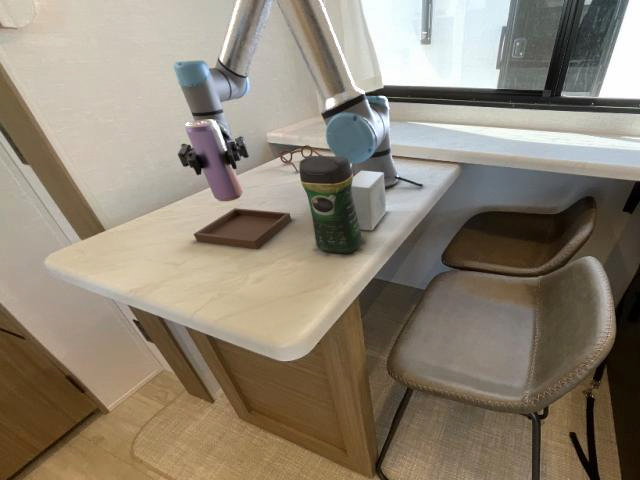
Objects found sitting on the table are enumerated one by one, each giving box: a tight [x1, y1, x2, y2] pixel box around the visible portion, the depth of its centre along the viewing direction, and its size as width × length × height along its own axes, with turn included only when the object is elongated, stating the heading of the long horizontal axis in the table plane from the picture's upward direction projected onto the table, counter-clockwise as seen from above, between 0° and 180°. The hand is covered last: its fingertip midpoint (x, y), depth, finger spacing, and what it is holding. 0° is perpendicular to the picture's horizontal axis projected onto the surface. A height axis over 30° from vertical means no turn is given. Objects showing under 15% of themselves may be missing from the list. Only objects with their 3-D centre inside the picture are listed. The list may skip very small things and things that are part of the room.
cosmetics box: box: [352, 171, 387, 231], centre depth 75 cm, size 10×6×10 cm, turn 163°
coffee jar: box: [298, 155, 363, 254], centre depth 63 cm, size 10×8×19 cm
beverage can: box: [184, 119, 243, 202], centre depth 66 cm, size 6×6×15 cm
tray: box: [193, 207, 292, 250], centre depth 76 cm, size 17×15×2 cm
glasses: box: [279, 144, 324, 173], centre depth 116 cm, size 13×13×5 cm
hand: (214, 164), depth 62 cm, fingers closed on beverage can, 6 cm apart
